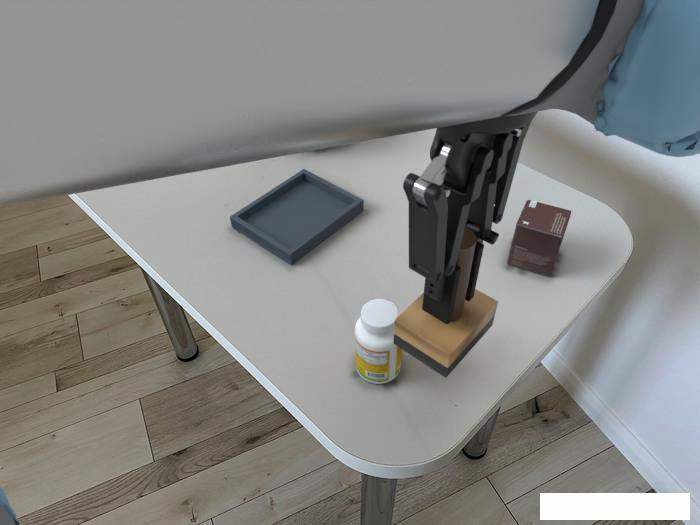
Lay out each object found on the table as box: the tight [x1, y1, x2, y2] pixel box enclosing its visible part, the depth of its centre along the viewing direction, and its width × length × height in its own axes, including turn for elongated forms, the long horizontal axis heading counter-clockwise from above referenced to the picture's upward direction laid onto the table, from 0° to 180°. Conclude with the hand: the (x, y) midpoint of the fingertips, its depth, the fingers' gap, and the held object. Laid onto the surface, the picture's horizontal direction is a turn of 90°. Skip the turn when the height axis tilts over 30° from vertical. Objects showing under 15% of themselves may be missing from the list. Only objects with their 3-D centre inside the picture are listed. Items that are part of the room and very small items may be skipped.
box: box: [506, 199, 572, 277], centre depth 77 cm, size 6×6×7 cm
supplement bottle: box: [354, 298, 403, 385], centre depth 64 cm, size 5×5×10 cm
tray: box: [229, 168, 365, 266], centre depth 86 cm, size 16×13×2 cm
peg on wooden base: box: [393, 228, 499, 378], centre depth 51 cm, size 8×6×12 cm
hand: (448, 302), depth 52 cm, fingers closed on peg on wooden base, 3 cm apart
